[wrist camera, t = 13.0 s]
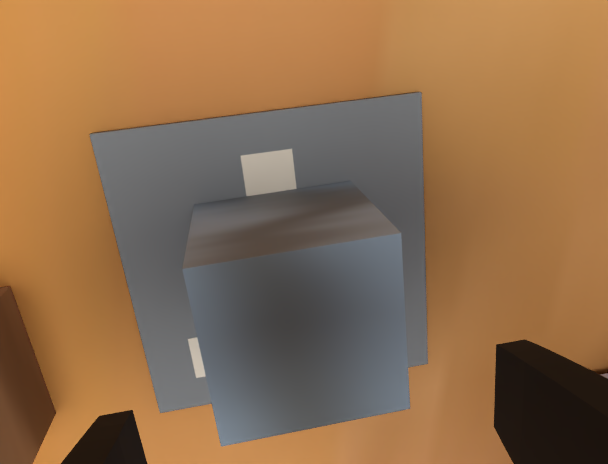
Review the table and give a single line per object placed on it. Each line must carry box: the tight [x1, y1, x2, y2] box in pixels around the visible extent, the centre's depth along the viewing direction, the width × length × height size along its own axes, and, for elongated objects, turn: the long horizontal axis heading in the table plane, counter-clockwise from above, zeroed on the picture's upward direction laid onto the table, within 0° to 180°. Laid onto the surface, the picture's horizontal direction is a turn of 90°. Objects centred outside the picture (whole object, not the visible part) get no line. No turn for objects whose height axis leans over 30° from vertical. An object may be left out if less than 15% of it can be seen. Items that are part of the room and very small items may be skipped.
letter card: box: [90, 92, 428, 413], centre depth 17 cm, size 10×10×1 cm
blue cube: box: [182, 181, 410, 446], centre depth 15 cm, size 5×5×5 cm
